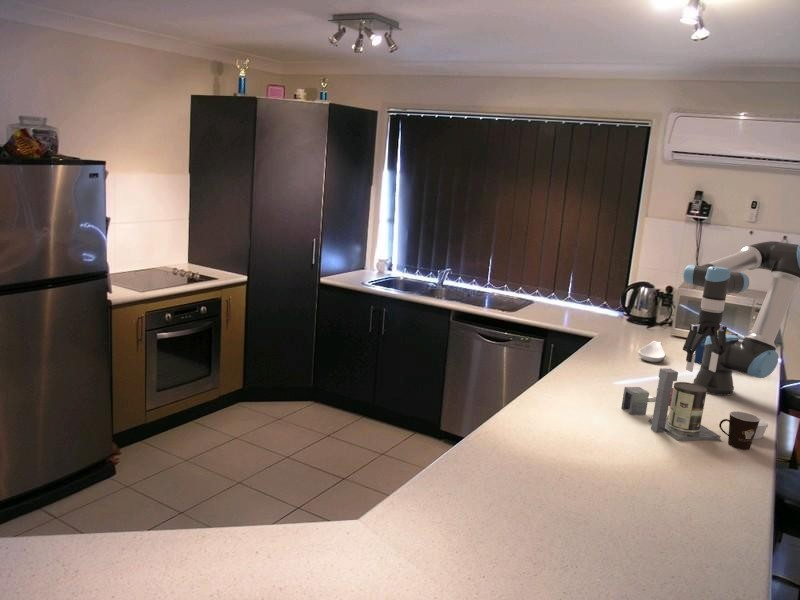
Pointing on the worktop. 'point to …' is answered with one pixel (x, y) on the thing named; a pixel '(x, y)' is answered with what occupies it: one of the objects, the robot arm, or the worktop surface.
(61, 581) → the worktop surface
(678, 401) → the coffee can
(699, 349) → the protein box
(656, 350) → the spoon rest
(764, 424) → the ramekin
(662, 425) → the press
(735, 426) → the coffee mug
